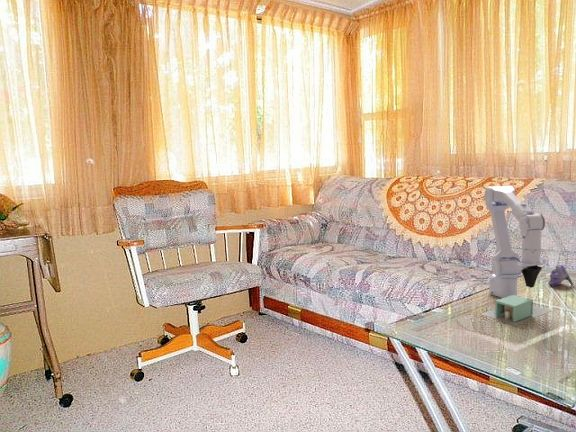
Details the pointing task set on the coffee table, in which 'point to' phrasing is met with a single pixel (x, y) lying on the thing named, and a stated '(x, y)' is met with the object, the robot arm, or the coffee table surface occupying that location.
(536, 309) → the base
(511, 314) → the brown block
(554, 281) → the flower
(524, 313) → the block
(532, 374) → the coffee table surface
